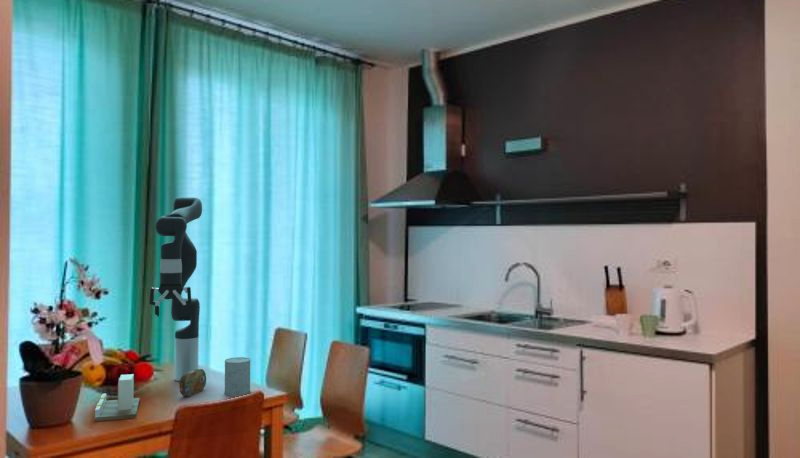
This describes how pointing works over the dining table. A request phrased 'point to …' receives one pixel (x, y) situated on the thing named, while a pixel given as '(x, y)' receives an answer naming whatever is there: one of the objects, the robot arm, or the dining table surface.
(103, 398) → the rail
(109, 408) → the shelf board
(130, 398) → the carton
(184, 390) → the tin
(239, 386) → the grey stone cylinder
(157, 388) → the dining table surface
